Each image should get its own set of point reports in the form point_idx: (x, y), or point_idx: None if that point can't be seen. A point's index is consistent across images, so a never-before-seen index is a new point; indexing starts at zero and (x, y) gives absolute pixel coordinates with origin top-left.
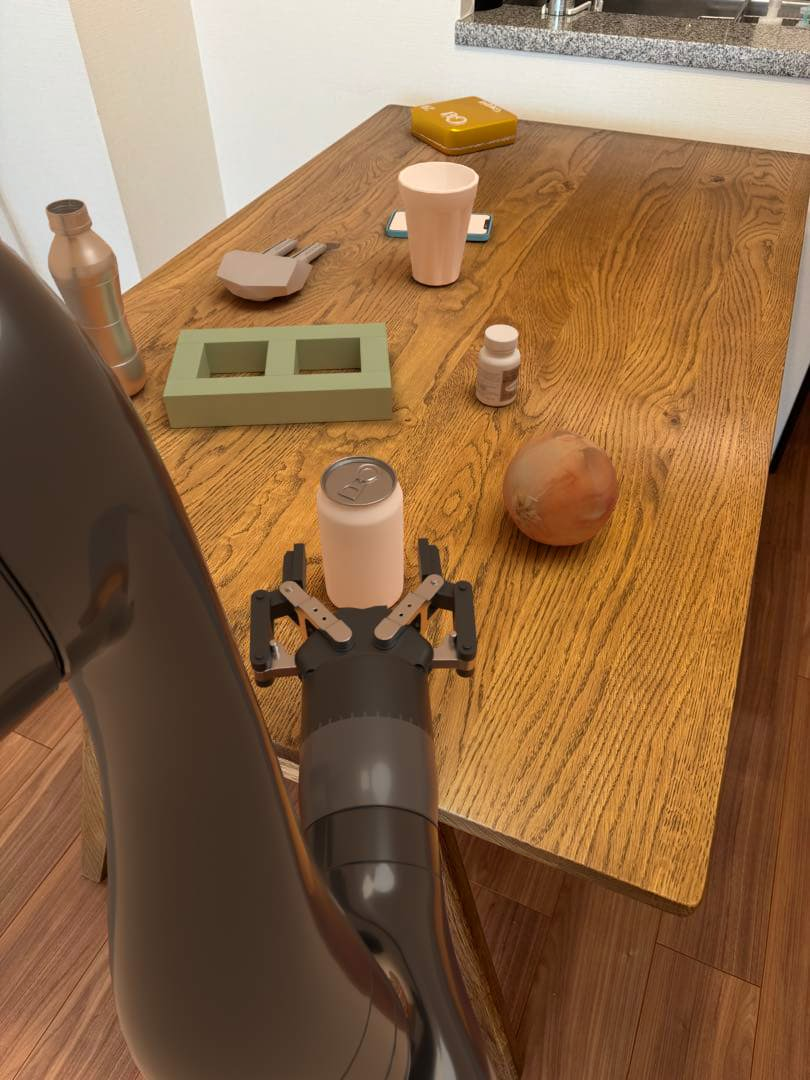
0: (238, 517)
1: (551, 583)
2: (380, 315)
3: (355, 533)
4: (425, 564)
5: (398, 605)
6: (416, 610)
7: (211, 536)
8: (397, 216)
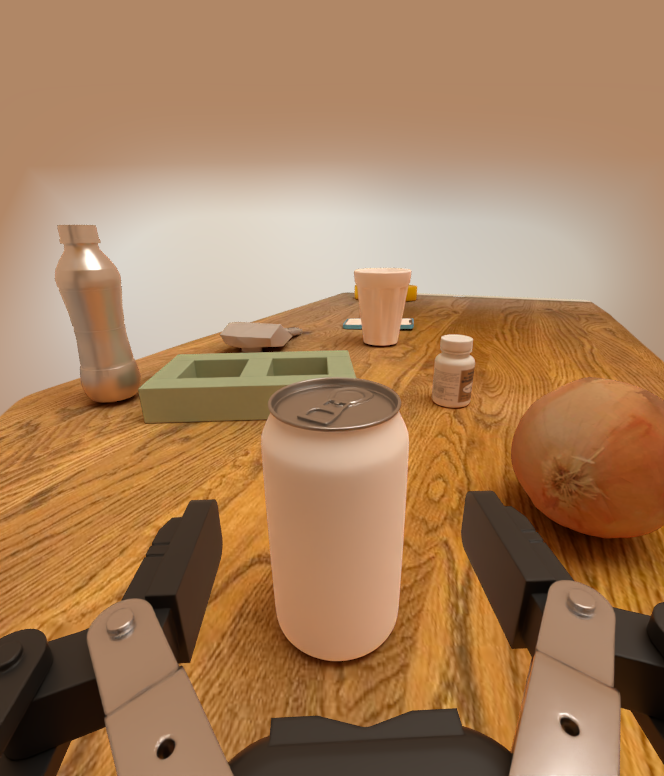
0: (179, 502)
1: (628, 599)
2: None
3: (328, 491)
4: (519, 550)
5: (522, 724)
6: (618, 760)
7: (136, 525)
8: (350, 320)
